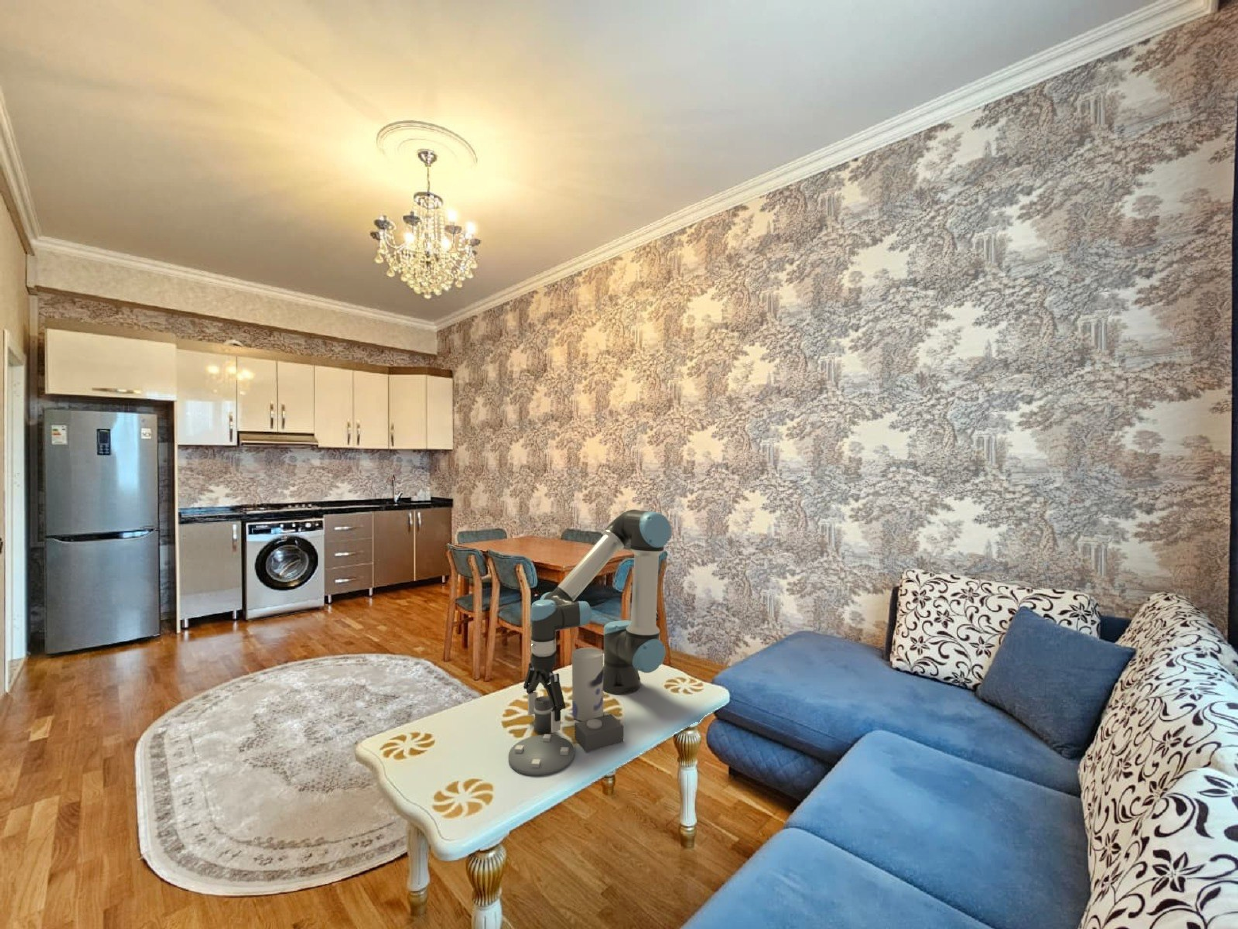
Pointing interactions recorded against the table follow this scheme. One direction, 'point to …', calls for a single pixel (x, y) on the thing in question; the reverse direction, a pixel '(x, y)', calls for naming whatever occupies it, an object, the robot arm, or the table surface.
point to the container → (587, 683)
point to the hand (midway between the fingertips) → (543, 722)
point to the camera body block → (599, 732)
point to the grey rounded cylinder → (542, 715)
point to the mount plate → (541, 755)
